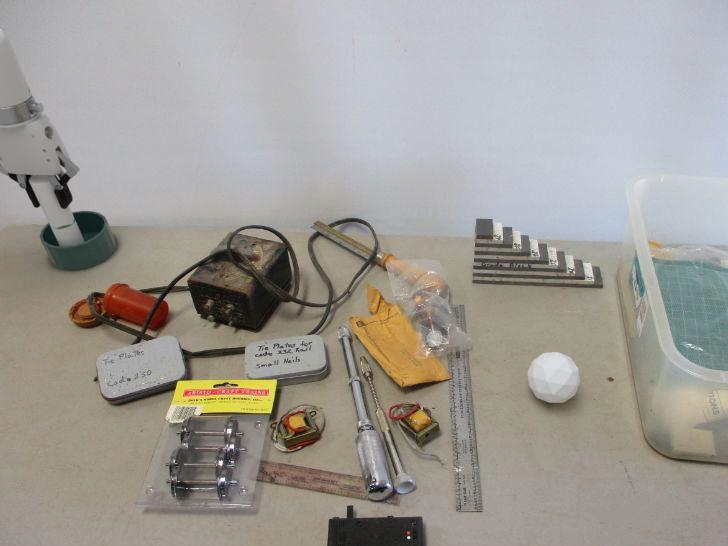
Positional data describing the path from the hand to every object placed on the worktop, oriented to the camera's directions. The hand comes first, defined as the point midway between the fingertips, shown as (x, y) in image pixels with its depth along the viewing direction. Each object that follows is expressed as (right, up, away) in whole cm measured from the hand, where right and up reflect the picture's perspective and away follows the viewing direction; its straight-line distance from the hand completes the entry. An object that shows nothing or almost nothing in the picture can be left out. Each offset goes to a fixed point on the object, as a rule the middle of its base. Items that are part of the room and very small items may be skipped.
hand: (53, 203), depth 108 cm
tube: (0, -7, +7) cm, 10 cm away
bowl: (0, -8, +10) cm, 13 cm away
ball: (+87, -32, -15) cm, 94 cm away
